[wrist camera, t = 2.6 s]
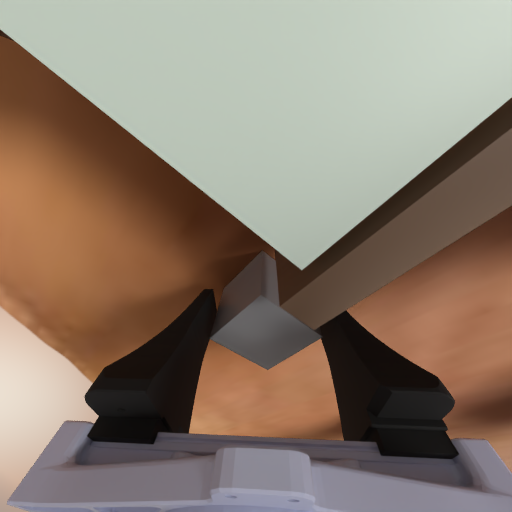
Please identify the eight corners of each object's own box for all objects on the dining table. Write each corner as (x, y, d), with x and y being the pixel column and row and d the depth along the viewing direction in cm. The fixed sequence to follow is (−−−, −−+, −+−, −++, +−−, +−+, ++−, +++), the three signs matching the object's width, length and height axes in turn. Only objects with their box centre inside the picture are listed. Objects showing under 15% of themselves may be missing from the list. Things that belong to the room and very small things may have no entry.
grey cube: (307, 284, 15) (322, 337, 11) (267, 315, 16) (267, 369, 13) (262, 249, 13) (260, 295, 9) (223, 287, 15) (209, 338, 11)
